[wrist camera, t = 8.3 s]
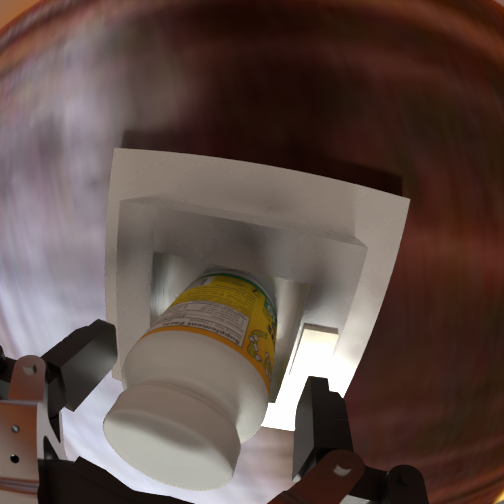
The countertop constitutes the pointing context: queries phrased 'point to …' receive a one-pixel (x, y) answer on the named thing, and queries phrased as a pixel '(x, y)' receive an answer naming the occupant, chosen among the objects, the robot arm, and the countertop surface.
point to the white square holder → (253, 256)
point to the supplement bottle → (197, 383)
